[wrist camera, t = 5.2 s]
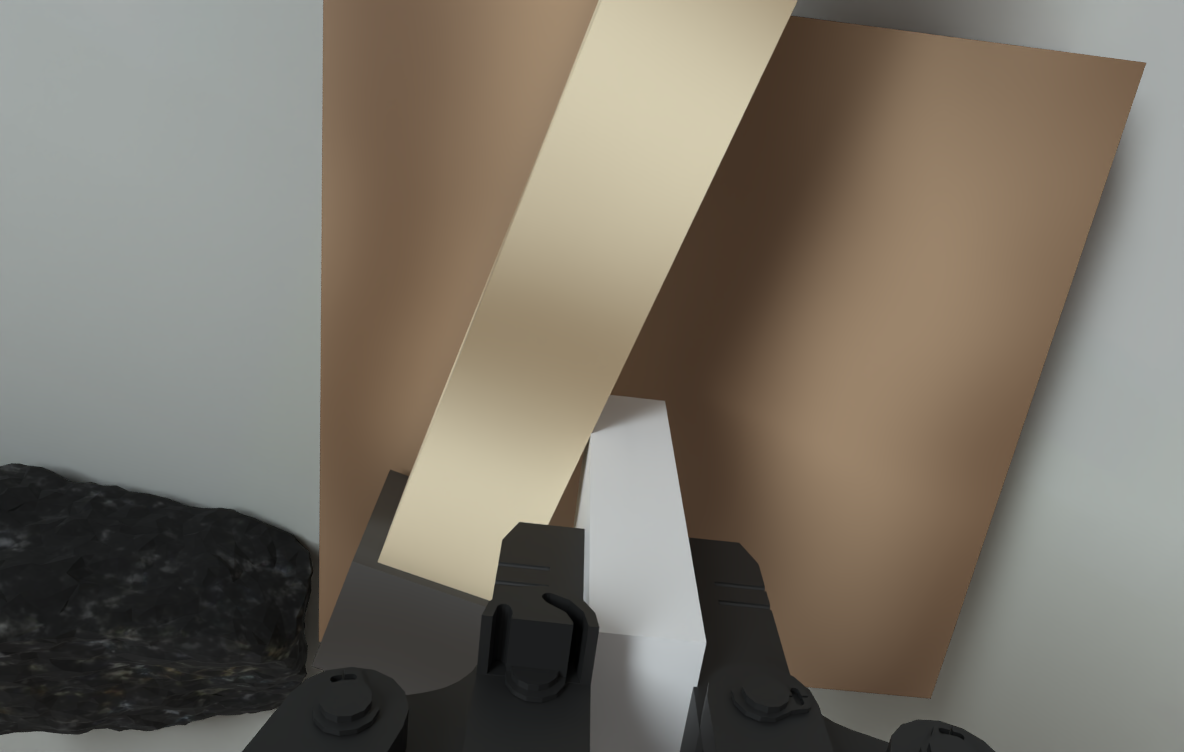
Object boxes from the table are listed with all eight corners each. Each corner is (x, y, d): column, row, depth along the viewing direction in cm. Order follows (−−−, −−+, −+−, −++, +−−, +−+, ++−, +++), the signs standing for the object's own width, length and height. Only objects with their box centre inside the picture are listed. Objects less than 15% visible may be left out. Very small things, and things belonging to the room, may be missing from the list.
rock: (313, 720, 25) (237, 922, 19) (-80, 663, 24) (-274, 858, 18) (336, 498, 22) (256, 661, 17) (-105, 425, 21) (-341, 571, 16)
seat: (346, 575, 23) (253, 799, 16) (368, -473, 15) (205, -822, 8) (896, 628, 23) (1011, 862, 17) (1196, -343, 15) (1614, -572, 9)
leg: (643, -186, 14) (659, -235, 11) (827, -93, 14) (890, -115, 11) (354, 562, 19) (311, 666, 16) (496, 610, 20) (481, 720, 17)
